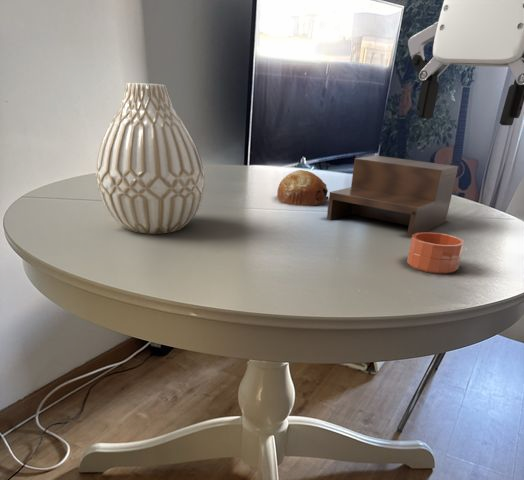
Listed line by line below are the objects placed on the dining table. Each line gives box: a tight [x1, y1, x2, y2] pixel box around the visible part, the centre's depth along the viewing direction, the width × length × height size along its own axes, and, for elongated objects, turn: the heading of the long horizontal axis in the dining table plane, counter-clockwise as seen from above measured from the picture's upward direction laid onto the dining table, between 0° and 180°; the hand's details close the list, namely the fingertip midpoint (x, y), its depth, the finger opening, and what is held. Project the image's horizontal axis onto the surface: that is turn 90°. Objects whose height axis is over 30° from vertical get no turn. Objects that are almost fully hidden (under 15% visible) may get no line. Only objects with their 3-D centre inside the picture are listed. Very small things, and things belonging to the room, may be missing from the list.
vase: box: [95, 82, 205, 235], centre depth 71 cm, size 16×16×20 cm
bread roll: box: [276, 169, 329, 207], centre depth 98 cm, size 10×10×8 cm
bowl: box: [406, 231, 466, 275], centre depth 64 cm, size 7×7×4 cm
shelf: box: [326, 155, 459, 239], centre depth 85 cm, size 16×16×10 cm
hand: (463, 121), depth 57 cm, fingers open, 9 cm apart
